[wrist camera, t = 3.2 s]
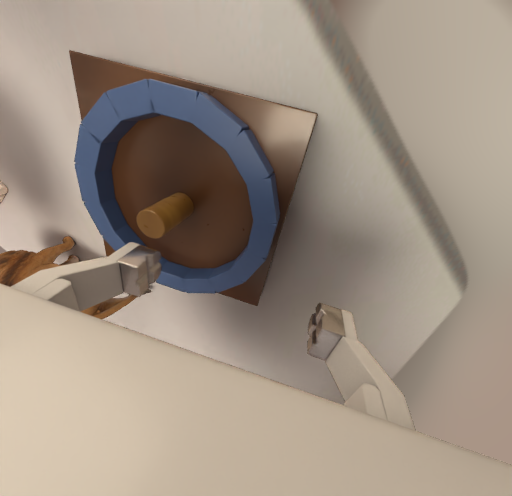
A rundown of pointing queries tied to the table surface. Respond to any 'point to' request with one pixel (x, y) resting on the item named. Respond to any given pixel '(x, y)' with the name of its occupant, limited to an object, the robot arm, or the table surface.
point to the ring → (209, 122)
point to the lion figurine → (28, 263)
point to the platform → (195, 172)
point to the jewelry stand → (2, 191)
